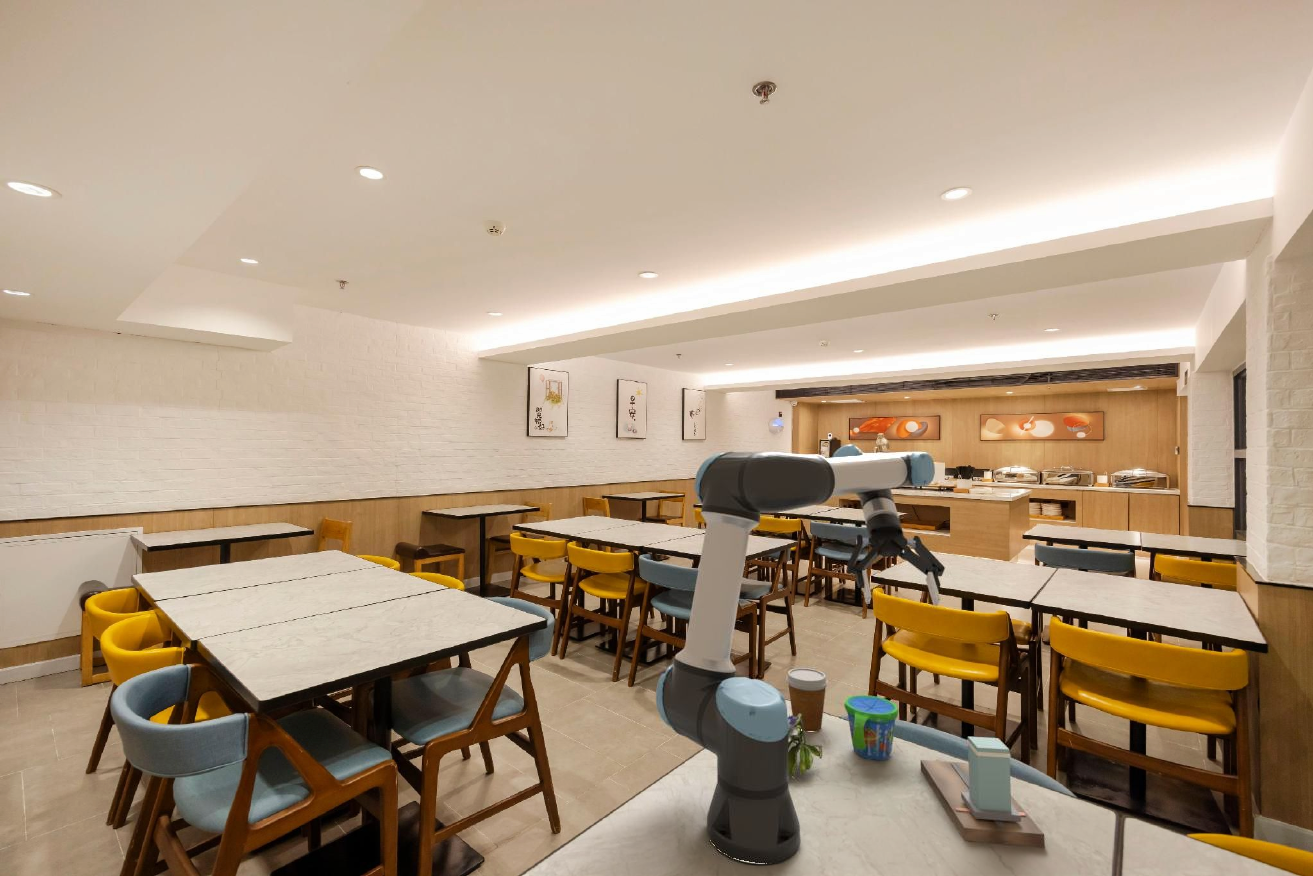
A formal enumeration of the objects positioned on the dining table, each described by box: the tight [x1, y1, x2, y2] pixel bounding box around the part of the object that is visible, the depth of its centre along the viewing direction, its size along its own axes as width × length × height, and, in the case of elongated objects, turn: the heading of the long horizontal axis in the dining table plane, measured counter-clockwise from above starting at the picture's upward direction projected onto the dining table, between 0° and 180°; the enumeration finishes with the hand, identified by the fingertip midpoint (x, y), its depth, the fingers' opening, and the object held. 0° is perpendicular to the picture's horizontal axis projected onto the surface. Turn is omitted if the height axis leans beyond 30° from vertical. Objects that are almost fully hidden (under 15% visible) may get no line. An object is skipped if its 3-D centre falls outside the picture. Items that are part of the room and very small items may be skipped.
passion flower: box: [788, 714, 823, 778], centre depth 117 cm, size 11×11×12 cm
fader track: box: [920, 759, 1046, 848], centre depth 103 cm, size 12×22×2 cm, turn 172°
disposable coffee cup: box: [785, 667, 829, 732], centre depth 134 cm, size 10×10×12 cm
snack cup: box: [844, 694, 899, 761], centre depth 122 cm, size 16×10×10 cm
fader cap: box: [961, 736, 1021, 822], centre depth 97 cm, size 7×6×11 cm
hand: (902, 601), depth 119 cm, fingers open, 13 cm apart
